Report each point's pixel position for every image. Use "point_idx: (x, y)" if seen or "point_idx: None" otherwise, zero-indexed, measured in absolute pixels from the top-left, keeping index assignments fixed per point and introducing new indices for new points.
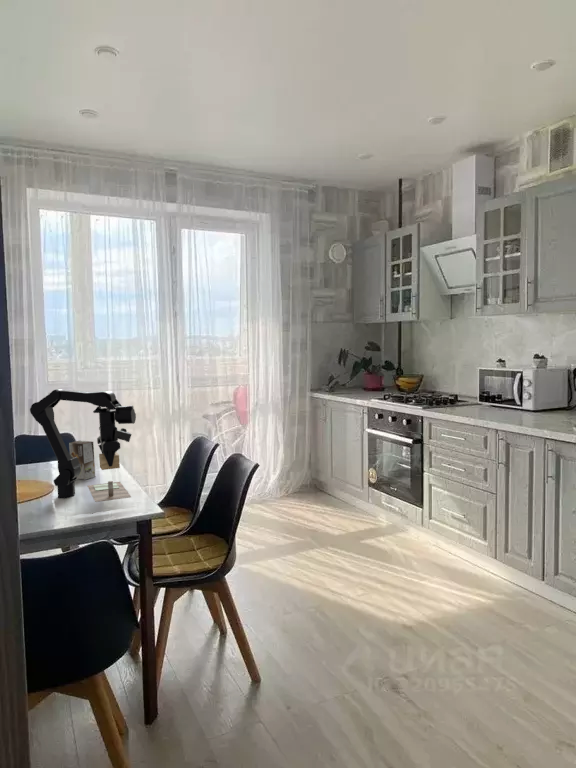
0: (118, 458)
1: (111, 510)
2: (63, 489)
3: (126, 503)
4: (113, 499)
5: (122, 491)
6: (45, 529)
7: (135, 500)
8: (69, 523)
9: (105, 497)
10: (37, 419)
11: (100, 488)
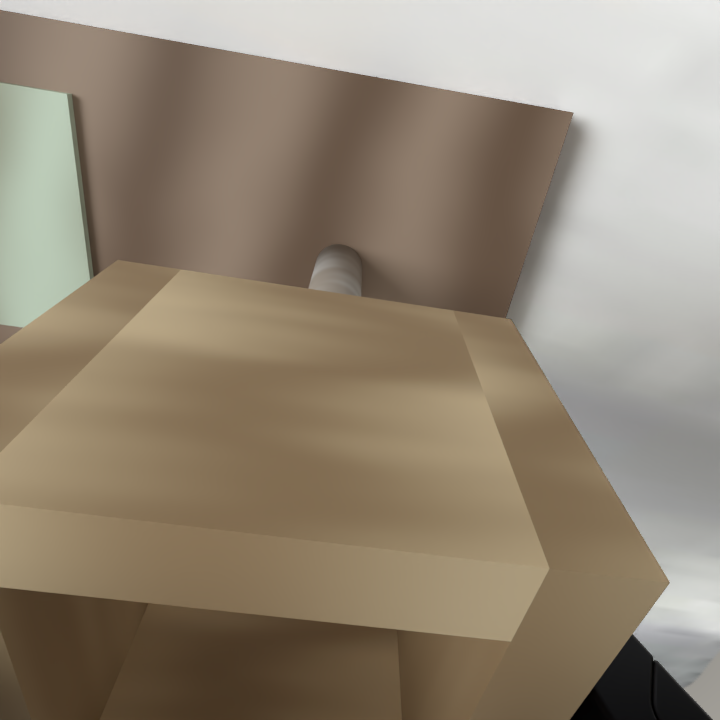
0: (593, 490)
1: (704, 361)
2: None
3: (623, 197)
4: (512, 295)
5: (255, 114)
6: (700, 657)
7: (599, 75)
8: (716, 584)
9: None
10: None
11: (30, 282)
